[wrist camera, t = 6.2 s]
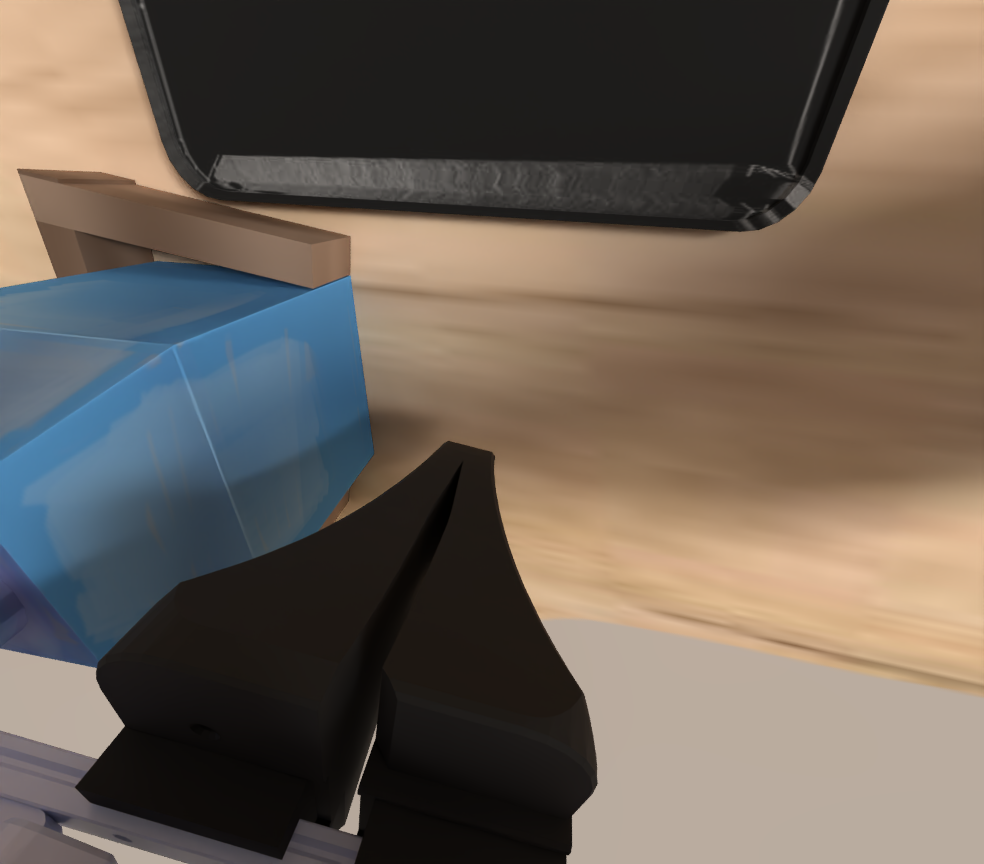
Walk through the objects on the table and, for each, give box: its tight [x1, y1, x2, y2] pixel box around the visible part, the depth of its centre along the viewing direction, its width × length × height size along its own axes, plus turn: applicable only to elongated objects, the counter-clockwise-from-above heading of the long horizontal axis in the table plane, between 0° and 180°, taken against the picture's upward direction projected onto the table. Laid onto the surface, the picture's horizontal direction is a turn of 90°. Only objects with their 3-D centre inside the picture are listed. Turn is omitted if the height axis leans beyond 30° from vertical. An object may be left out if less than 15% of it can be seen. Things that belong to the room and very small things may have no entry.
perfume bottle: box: [0, 261, 374, 668], centre depth 8 cm, size 6×6×12 cm
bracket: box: [17, 169, 350, 530], centre depth 13 cm, size 7×10×2 cm
